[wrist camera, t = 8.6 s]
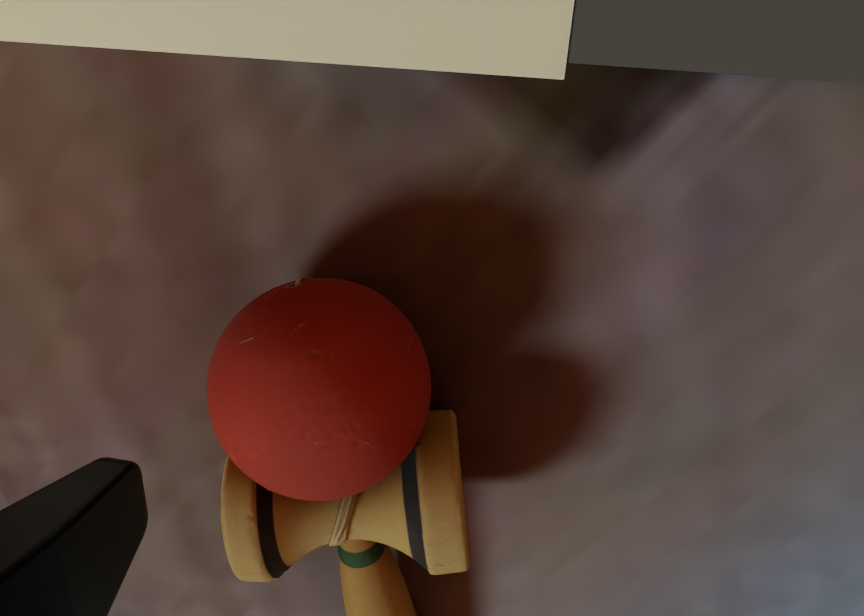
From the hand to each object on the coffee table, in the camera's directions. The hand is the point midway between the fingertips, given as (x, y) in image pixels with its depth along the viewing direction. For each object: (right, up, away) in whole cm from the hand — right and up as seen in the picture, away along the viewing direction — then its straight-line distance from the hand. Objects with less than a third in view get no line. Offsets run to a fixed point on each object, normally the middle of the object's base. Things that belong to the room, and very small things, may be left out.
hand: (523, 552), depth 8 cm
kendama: (-3, -3, +17) cm, 18 cm away
